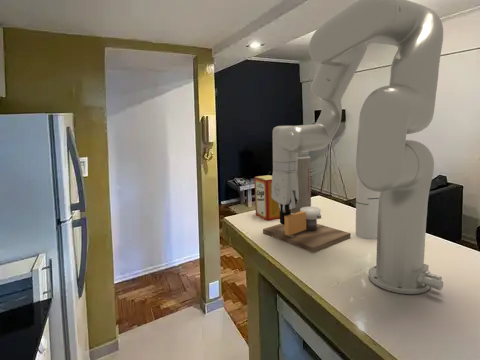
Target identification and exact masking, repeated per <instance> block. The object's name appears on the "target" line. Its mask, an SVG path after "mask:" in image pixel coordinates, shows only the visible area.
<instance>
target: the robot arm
mask: <svg viewBox="0 0 480 360" xmlns="http://www.w3.org/2000/svg"><path fill="white" fill-rule="evenodd" d="M443 41H444V27H443V23H442V20H441V18H440V16H439V15H438V13H436V12H435V10H433V9H432V8H429V7H427V6H425V5H422V4H420V3H417V2H414V1H410V0H354V1H351V2H350V3H349V4H348V5H347V6H345V7H344V8H342V9H341V10H339V11H338V12H337V13H335V14H334V15H332V16H331V17H329V18H328V19H326V20H324V22H322V24H321V25H320V26H319V27H318V28H317V29H316V30H315V31H314V32H313V34H312V36H311V38H310V40H309V44H308V54H309V57H310V59H311V61H313V62H314V63H317V64H319V67H318V69H317V72H316V73H315V75H314V78H313V79H312V82H311V84H310V88H309V89H310V91H311V93H312V95H313V96H314V97H315V98H317V99H318V100H320V101H321V106H322V107H321V111H320V113H319V114H320V115H318V116H319V117H318V118H317V120H316V122H315V123H314V124H300V125H277V126H275V127H273V129H272V175H271V176H272V188H271V197H272V199H273V200H275V201H276V202H278V204H279V210H280V219H279V224H283V225H284V224H285V220H284V216H287V215H290V214H292V209H295V208H296V206H295V204H296V203H298V198H299V190H298V177H297V171H298V153H299V152H307V151H309V152H312V151H313V152H314V151H319V150H323V149H325V148H326V147H327V146H328V145H329V144H330V143H331V141H332V140H333V138H334V136H335V134H336V133H337V131H338V130H339V127H340V125H341V121H342V112H343V109H342V98H343V96H345V93H346V91H347V89H348V87H349V85H350V83H351V81H352V80H353V77H354V75H355V73H356V72H357V70H358V67H359V66H360V64H361V62H362V60H363V59H364V56H365V55H366V52H367V49H368V42H369V43H370V42H371V43H374V44H375V43H376V44H382V45H388V46H389V45H390V46H395V47H397V50H396V52H395V55H394V56H393V59H392V61H391V65H390V75H389V76H390V78H389V85H384V86H380V87H379V88H376V89H375V90H373V91H372V92H370V93H369V94H368V96H367V97H366V98H365V100H364V102H363V104H362V106H361V108H360V111H359V117H358V131H357V140H356V141H357V144H356V155H355V156H356V157H355V166H356V167H355V168H356V175H357V174H358V177H359V179H360V181H361V183H362V184H363V185H364V186H365V187H366V188H368V189H370V190H372V191H377V192H380V197H379V203H378V227H377V238H376V260H375V261H376V262H375V263H376V264H375V265H374V266H372V267H370V268H369V270H368V278H369V280H370V282H372V283H373V284H374V285H376V286H377V287H379V288H381V289H384V290H386V291H389V292H393V293H397V294H406V295H417V294H422V293H425V292H428V290H430V288H432V289H435V290H437V291H442V289H443V288H444V281H443V280H442V279H443V277H442V276H440V275H438V274H433V273H431V271H429V267H430V265H429V264H426V263H425V247H426V234H427V233H426V232H427V231H426V230H427V217H428V206H429V205H428V202H429V197H430V196H429V195H430V189H431V185H432V180H433V176H434V172H435V171H434V170H435V160H434V156H433V153H432V152H431V150H430V149H429V148H428V147H427V146H426V145H425V144H424V143H421V142H419V141H416V140H412V139H411V140H410V139H409V140H408V139H407V135H410V134H411V135H412V134H415V133H416V134H417V133H419V132H422V131H424V130H425V129H426V128H428V127H429V126H430V124H431V122H432V121H433V118H434V114H435V107H436V96H437V90H438V80H439V69H440V62H441V56H442V55H441V54H442V48H443Z"/></svg>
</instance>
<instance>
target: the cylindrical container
mask: <svg viewBox="0 0 480 360" xmlns="http://www.w3.org/2000/svg"><path fill="white" fill-rule="evenodd" d="M355 183H356V187H355V188H356V191H355V193H356V195H355V196H356V197H355V236H356V237H358V238H361V239H367V240H375V239H376V240H377V227H378V203H379V197H380V192H377V191H372V190H370V189H368V188H366V187H365V186H364V185H363V184H362V183H361V181H360V179H359V177H358V174H357V173H356V182H355Z"/></svg>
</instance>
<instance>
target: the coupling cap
mask: <svg viewBox="0 0 480 360" xmlns="http://www.w3.org/2000/svg"><path fill="white" fill-rule="evenodd" d="M306 219H308V220H314V219H317V220H320V219H322V215H321V208H320V207H317V206H311V207H302V208H301V209H300V212H297V213H291V214H290V215H287V216H284V220H285V235H288V236H289V235H292V234H294V233H297V232H300V231H303V230H306Z"/></svg>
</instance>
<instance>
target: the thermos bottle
mask: <svg viewBox="0 0 480 360" xmlns="http://www.w3.org/2000/svg"><path fill="white" fill-rule="evenodd" d="M311 161H312V160H311V156H310V151H307V152H299V153H298V171H297V177H298V190H299V198H298V203H296V204H295V206H296V208H295V209H292V212H291V214H293V213H297V212H300V209H301V208H302V207H312V186H311V185H312V179H311V177H312V173H311V172H312V170H311V168H312V167H311V166H312V163H311Z"/></svg>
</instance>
